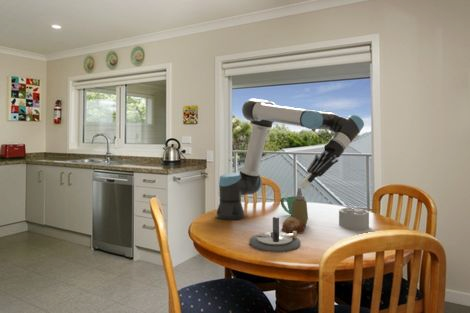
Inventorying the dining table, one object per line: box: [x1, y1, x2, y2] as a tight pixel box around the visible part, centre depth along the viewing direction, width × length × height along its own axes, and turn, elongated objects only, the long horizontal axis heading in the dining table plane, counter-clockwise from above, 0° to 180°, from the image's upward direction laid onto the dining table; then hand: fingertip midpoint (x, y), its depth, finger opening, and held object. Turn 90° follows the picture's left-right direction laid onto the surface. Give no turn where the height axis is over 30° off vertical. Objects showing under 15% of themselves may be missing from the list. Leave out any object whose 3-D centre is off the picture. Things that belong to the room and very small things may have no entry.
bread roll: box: [281, 216, 306, 234], centre depth 138 cm, size 10×10×8 cm
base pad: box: [249, 231, 301, 253], centre depth 122 cm, size 20×20×4 cm
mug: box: [280, 196, 306, 216], centre depth 167 cm, size 15×10×10 cm
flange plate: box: [256, 216, 293, 246], centre depth 122 cm, size 14×16×10 cm
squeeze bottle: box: [290, 187, 309, 226], centre depth 147 cm, size 8×8×18 cm
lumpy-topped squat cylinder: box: [338, 206, 370, 231], centre depth 145 cm, size 10×13×9 cm
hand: (302, 186), depth 124 cm, fingers closed
